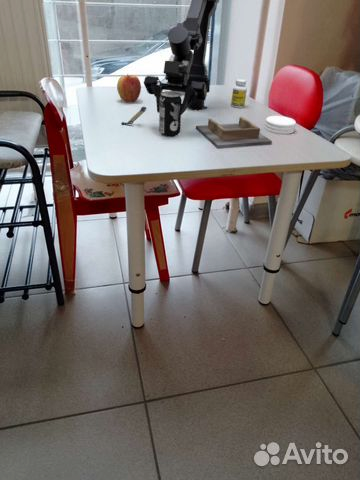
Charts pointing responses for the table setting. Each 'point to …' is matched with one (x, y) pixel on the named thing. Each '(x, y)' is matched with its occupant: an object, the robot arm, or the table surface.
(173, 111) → the beverage can
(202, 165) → the table surface
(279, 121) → the white ridged disc
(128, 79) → the apple
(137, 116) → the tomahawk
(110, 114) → the table surface
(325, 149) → the table surface
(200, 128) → the loading bay
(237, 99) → the supplement bottle
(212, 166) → the table surface
